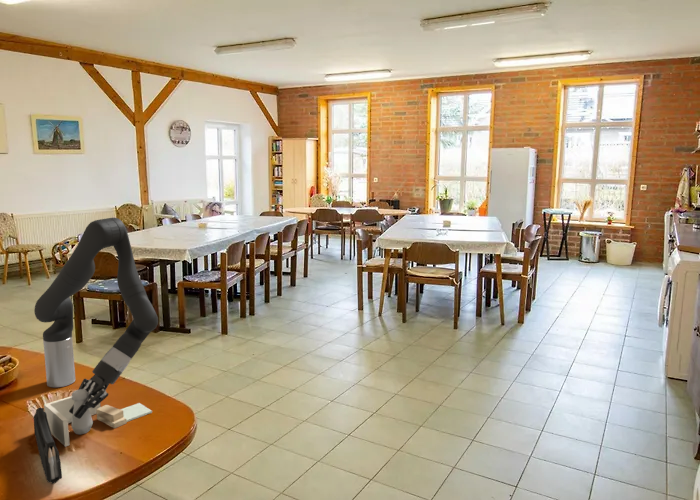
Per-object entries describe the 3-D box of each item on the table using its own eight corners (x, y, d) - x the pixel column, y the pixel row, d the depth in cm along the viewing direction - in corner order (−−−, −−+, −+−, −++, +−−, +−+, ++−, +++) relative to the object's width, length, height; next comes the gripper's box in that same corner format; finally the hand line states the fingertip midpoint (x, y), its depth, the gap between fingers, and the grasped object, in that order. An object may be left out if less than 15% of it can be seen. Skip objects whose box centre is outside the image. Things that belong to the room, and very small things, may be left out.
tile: (114, 413, 170) (114, 411, 170) (139, 404, 176) (139, 402, 176) (127, 421, 165) (126, 420, 165) (152, 412, 171) (152, 410, 171)
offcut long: (97, 420, 166) (96, 414, 166) (108, 415, 169) (108, 409, 169) (114, 430, 161) (114, 423, 160) (126, 425, 164) (126, 418, 163)
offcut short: (96, 415, 165) (96, 409, 165) (106, 410, 168) (106, 404, 168) (113, 422, 161) (113, 415, 161) (123, 417, 164) (123, 410, 164)
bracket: (46, 428, 160) (44, 404, 158) (99, 410, 171) (97, 388, 170) (65, 446, 150) (63, 420, 149) (120, 426, 162) (118, 402, 160)
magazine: (31, 407, 154) (40, 419, 130) (44, 404, 156) (55, 415, 132) (38, 466, 153) (48, 489, 129) (50, 462, 155) (63, 484, 131)
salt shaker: (89, 424, 163) (86, 385, 161) (96, 431, 159) (93, 391, 156) (69, 430, 159) (65, 390, 156) (75, 438, 155) (72, 397, 152)
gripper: (93, 353, 165) (54, 402, 158) (113, 365, 156) (73, 418, 149) (111, 365, 170) (74, 412, 163) (131, 377, 161) (93, 428, 154)
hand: (74, 415), depth 156 cm, fingers closed on salt shaker, 3 cm apart
